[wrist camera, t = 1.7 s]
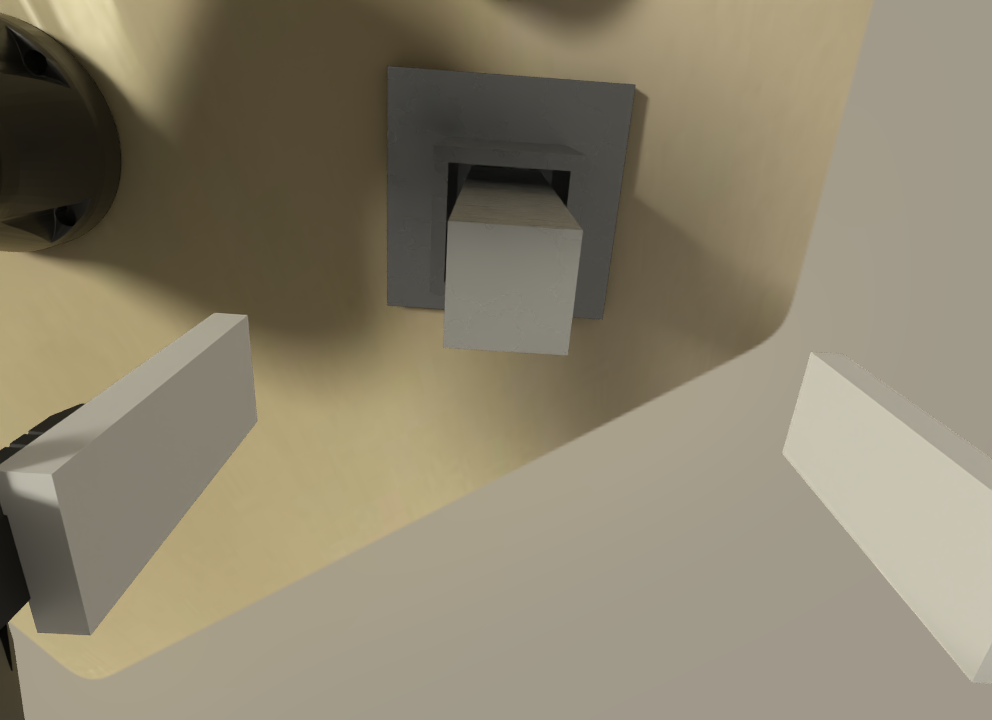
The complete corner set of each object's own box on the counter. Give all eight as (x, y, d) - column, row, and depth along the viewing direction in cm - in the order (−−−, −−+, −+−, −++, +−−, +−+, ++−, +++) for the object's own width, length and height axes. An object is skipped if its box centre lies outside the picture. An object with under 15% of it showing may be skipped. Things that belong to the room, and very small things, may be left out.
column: (467, 242, 43) (442, 362, 23) (471, 165, 41) (448, 221, 21) (532, 247, 43) (566, 370, 23) (539, 170, 41) (582, 230, 21)
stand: (390, 300, 46) (359, 356, 36) (390, 67, 40) (353, 52, 30) (599, 314, 46) (629, 372, 36) (631, 85, 40) (678, 76, 30)
